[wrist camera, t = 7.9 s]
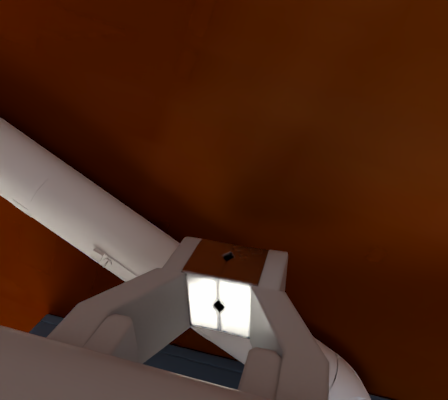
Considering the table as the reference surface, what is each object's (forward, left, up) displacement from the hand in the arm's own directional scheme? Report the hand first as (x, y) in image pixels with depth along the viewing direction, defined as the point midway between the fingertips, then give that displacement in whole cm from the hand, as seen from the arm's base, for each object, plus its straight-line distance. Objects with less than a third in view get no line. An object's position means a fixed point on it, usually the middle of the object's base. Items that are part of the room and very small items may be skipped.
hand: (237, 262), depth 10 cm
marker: (+1, -3, -2) cm, 3 cm away
